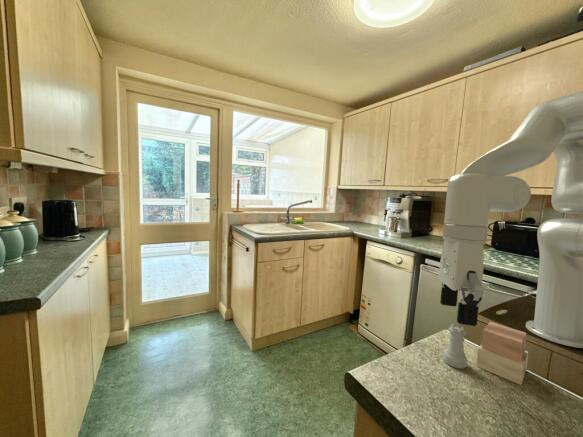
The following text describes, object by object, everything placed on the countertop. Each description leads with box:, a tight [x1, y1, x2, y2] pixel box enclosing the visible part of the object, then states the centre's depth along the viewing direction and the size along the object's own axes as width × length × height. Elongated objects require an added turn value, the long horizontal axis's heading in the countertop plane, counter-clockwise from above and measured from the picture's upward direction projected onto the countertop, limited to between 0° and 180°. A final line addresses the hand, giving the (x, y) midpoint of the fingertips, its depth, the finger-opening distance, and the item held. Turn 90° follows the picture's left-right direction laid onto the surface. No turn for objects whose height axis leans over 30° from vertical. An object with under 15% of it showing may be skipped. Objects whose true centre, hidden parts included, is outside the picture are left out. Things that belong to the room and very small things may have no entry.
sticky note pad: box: [476, 321, 529, 386], centre depth 52 cm, size 7×7×8 cm
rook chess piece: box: [442, 323, 469, 370], centre depth 53 cm, size 4×4×8 cm
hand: (456, 313), depth 52 cm, fingers open, 9 cm apart
